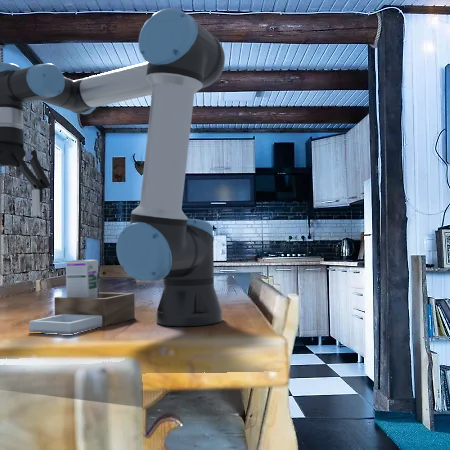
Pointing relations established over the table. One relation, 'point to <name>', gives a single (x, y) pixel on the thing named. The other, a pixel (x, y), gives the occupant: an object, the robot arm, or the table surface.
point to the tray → (65, 324)
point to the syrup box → (82, 279)
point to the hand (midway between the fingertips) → (8, 215)
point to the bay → (99, 306)
